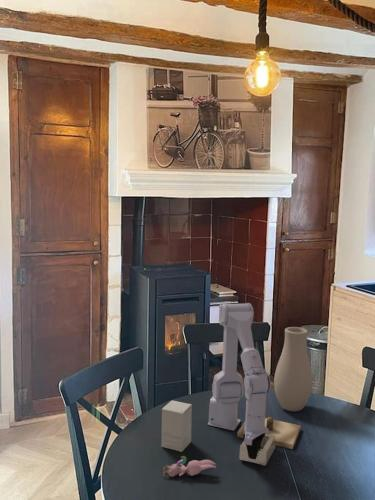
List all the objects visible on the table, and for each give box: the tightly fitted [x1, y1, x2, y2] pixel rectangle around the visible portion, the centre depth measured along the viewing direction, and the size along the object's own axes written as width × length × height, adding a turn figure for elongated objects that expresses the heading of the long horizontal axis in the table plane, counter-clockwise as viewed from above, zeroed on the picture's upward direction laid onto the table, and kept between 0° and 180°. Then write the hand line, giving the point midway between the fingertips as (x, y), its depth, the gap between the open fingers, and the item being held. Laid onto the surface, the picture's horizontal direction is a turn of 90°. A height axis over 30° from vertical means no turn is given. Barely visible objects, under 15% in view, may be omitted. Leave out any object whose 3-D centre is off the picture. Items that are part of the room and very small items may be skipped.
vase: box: [273, 326, 314, 412], centre depth 186 cm, size 14×14×30 cm
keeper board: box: [236, 416, 302, 450], centre depth 169 cm, size 18×14×6 cm
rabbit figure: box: [162, 455, 217, 478], centre depth 144 cm, size 6×6×15 cm
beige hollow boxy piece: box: [238, 434, 276, 467], centre depth 155 cm, size 8×12×4 cm, turn 157°
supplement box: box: [161, 400, 193, 453], centre depth 160 cm, size 7×7×13 cm
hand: (253, 456), depth 151 cm, fingers closed on beige hollow boxy piece, 2 cm apart
